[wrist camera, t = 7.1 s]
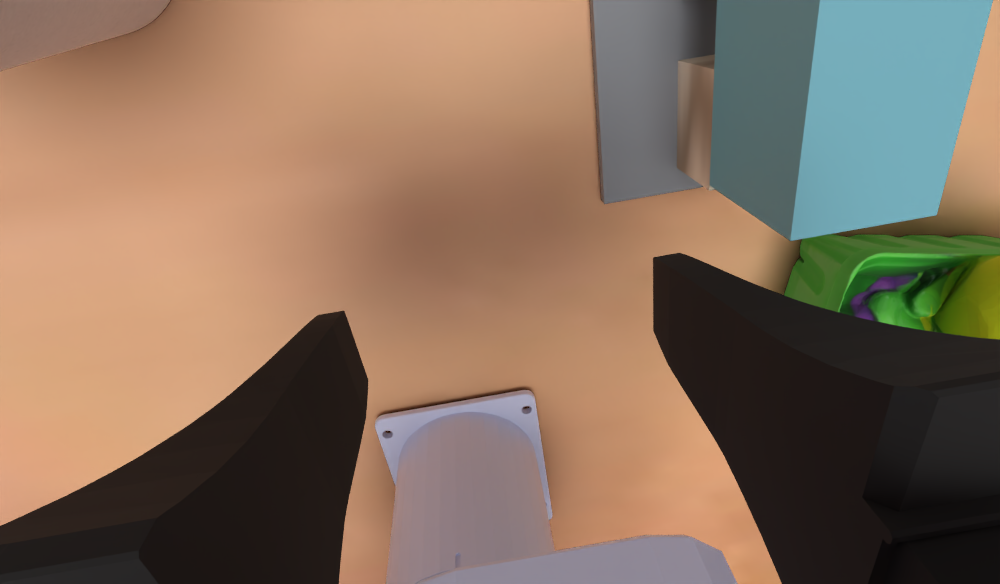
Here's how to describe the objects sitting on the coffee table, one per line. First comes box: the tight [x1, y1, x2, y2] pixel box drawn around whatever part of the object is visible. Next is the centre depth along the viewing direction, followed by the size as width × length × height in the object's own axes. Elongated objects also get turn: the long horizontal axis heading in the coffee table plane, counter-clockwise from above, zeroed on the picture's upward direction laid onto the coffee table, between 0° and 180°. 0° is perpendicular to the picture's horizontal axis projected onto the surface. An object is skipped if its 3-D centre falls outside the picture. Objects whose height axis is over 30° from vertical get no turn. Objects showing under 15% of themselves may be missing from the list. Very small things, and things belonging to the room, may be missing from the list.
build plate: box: [590, 0, 717, 204], centre depth 19 cm, size 12×10×1 cm
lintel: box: [709, 0, 993, 241], centre depth 14 cm, size 10×4×5 cm, turn 9°
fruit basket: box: [784, 234, 1000, 339], centre depth 20 cm, size 11×9×11 cm
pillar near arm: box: [677, 54, 715, 191], centre depth 19 cm, size 4×4×3 cm
